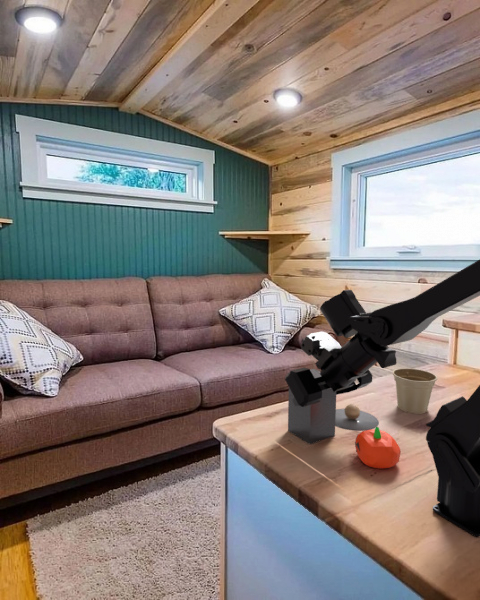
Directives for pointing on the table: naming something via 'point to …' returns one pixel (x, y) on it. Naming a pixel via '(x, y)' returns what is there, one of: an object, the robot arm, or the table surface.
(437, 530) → the table surface
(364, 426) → the slate coaster
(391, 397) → the table surface
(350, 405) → the cork ball
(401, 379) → the flower pot
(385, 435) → the pumpkin
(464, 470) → the robot arm
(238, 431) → the table surface
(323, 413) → the dark grey square block
